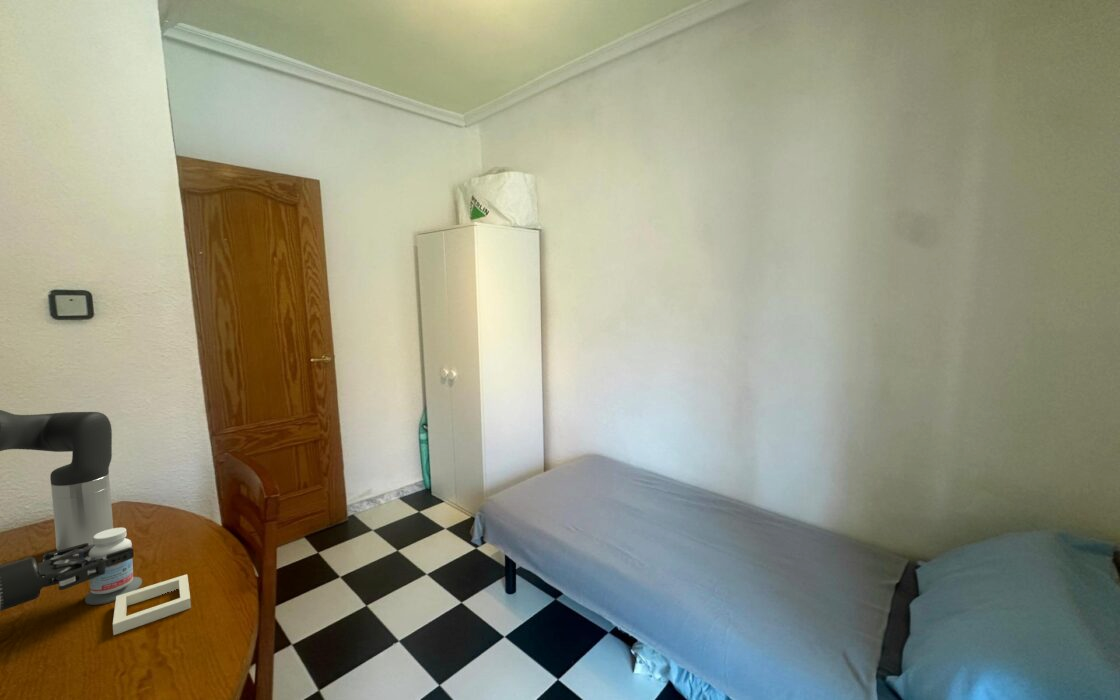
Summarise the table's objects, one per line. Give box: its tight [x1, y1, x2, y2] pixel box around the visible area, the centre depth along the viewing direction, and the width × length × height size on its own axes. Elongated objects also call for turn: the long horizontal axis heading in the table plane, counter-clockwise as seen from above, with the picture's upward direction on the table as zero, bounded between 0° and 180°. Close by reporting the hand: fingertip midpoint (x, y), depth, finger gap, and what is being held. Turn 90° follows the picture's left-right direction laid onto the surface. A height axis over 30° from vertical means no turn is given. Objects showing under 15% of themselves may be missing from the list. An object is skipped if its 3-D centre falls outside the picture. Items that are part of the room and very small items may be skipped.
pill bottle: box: [89, 527, 134, 594], centre depth 86 cm, size 6×6×11 cm
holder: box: [112, 573, 192, 636], centre depth 82 cm, size 10×10×2 cm
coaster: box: [84, 576, 143, 606], centre depth 87 cm, size 8×8×1 cm
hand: (127, 547), depth 88 cm, fingers closed on pill bottle, 6 cm apart
